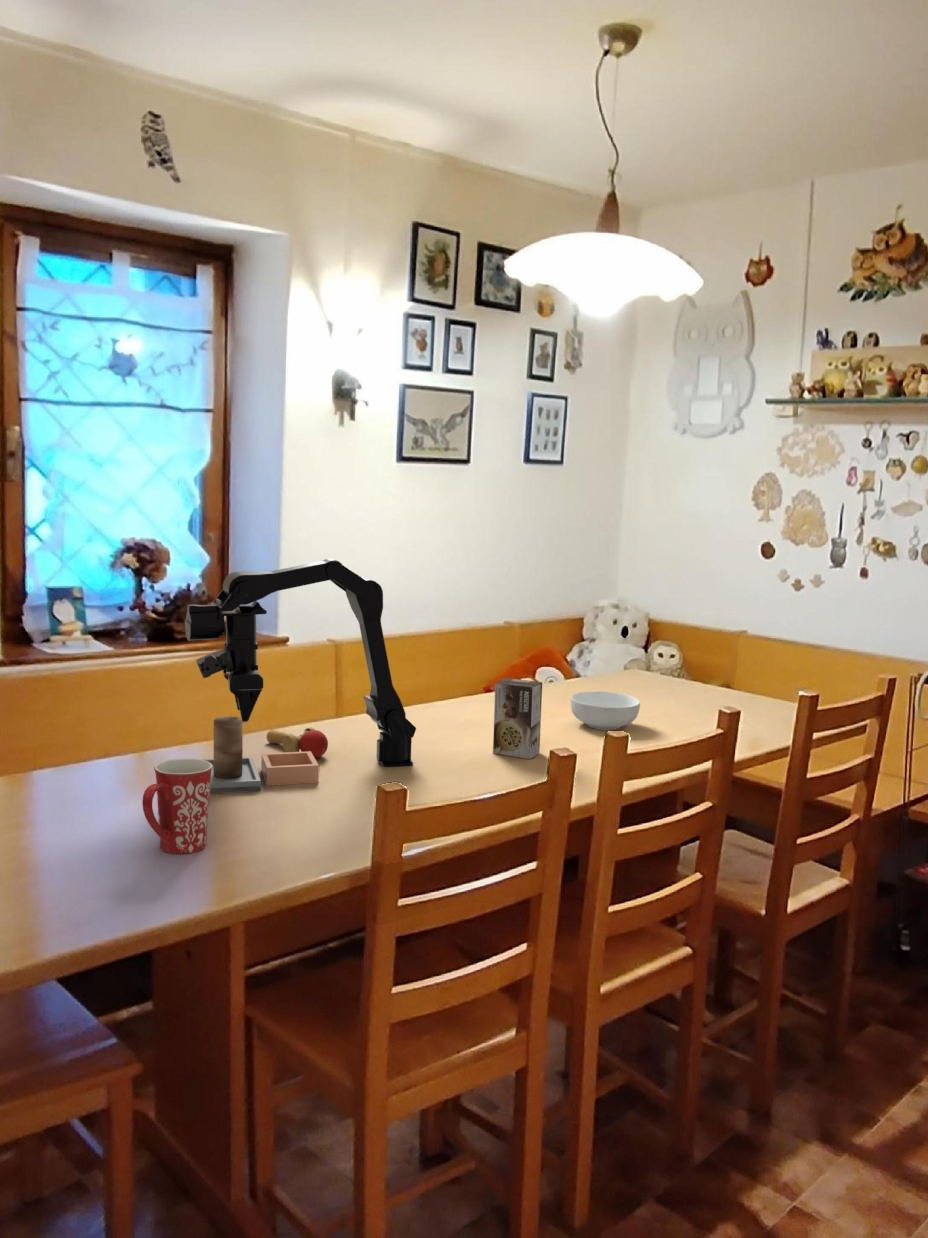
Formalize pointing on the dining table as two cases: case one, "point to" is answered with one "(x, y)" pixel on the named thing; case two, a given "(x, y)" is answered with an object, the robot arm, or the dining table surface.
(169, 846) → the mug
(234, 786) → the grey tray
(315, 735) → the kendama
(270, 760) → the pink rectangular frame
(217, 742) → the walnut peg
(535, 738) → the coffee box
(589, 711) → the cereal bowl
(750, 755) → the dining table surface
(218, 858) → the dining table surface
